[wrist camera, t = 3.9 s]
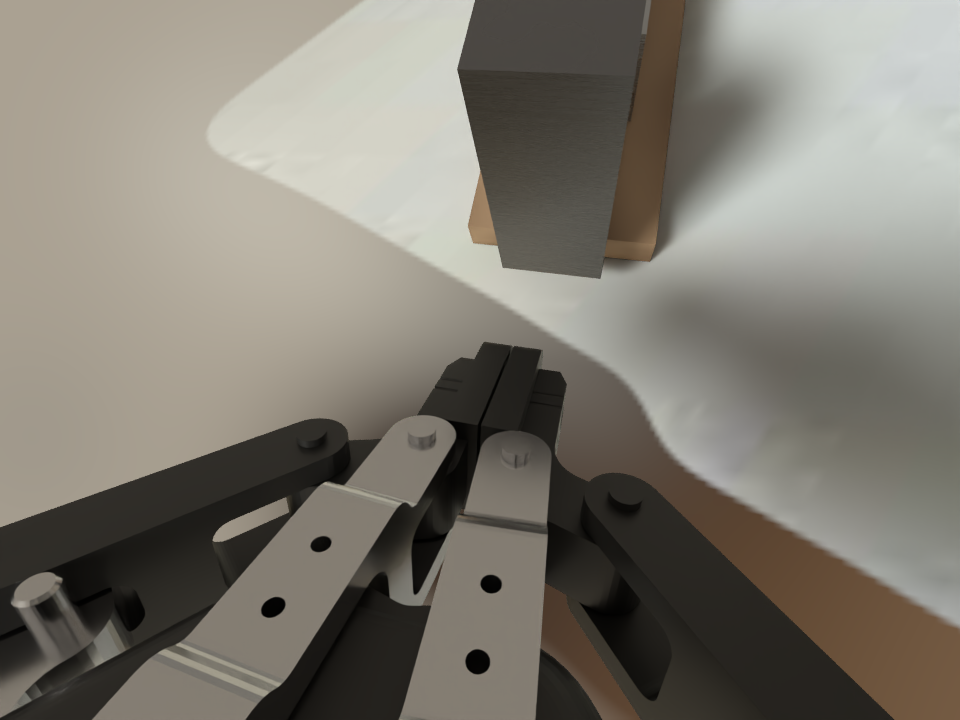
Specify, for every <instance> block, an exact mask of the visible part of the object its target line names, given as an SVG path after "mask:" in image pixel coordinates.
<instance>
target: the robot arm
mask: <svg viewBox="0 0 960 720" xmlns="http://www.w3.org/2000/svg"><path fill="white" fill-rule="evenodd" d="M542 358H543V350H539V349H532V348H524V347H518V346H514V347H512V346H510V345H503V344H496V343H489V342H484V343H483V344H482V346H481V348H480V350H479V352H478V354H477V355H476V357H475V359H468V358H460V359H458V360H456V361H455V362H453V363H451V364H450V365H448V366H447V368H446V369H445V371H444V372H443V374H442V376H441V378H440V380H439V381H438V382H437V384H436V385H435V389H433V390H432V392H431V393H430V395H429V397H428V398H427V400H426V402H425V403H424V405H423V406H422V408H421V410H420V411H419V413H418V415H417V416H412V417H408V418H405V419H403V420H401V421H399V422H397V423H396V424H394V425H393V426H392V427H391V429H390V430H389V431H388V432H387V433H386V435H385V436H384V437H383V438H382V439H374V440H353V441H349V439H348V432H347V429H346V428H345V427H344V426H343V425H342V424H341V423H339V422H337V421H334V420H330V419H309V420H304V421H301V422H298V423H295V424H292V425H290V426H287V427H284V428H281V429H278V430H275V431H272V432H270V433H267V434H264V435H261V436H258V437H255V438H253V439H250V440H247V441H244V442H241V443H238V444H236V445H233V446H230V447H227V448H224V449H221V450H219V451H216V452H213V453H210V454H208V455H204V456H201V457H199V458H196V459H193V460H190V461H187V462H184V463H182V464H179V465H176V466H173V467H170V468H167V469H165V470H162V471H159V472H156V473H153V474H150V475H148V476H145V477H142V478H139V479H137V480H134V481H131V482H128V483H125V484H122V485H119V486H116V487H114V488H111V489H108V490H105V491H102V492H99V493H97V494H94V495H91V496H88V497H85V498H82V499H79V500H77V501H74V502H71V503H68V504H65V505H63V506H60V507H57V508H54V509H51V510H48V511H45V512H43V513H40V514H37V515H34V516H31V517H28V518H26V519H23V520H20V521H17V522H14V523H11V524H9V525H6V526H3V527H0V720H602V719H601V717H600V715H599V713H598V712H597V710H596V708H595V706H594V705H593V703H592V701H591V700H590V698H589V696H588V695H587V694H586V692H585V691H584V689H583V688H582V687H581V685H580V684H579V683H578V681H577V680H576V679H575V678H574V677H573V676H572V675H571V674H570V672H569V671H568V670H567V669H566V668H565V667H564V666H562V665H561V664H560V663H559V662H558V661H557V660H556V659H555V658H553V657H552V656H550V655H549V654H548V653H546V652H545V651H543V650H542V649H541V648H540V643H541V627H542V613H543V598H544V583H546V584H548V585H550V586H552V587H553V588H555V589H557V590H559V591H561V592H562V593H564V594H566V595H567V604H568V606H569V609H570V611H571V613H572V614H573V616H574V617H575V619H576V621H577V622H578V623H579V625H580V627H581V628H582V630H583V631H584V633H585V634H586V636H587V637H588V639H589V640H590V642H591V644H592V645H593V646H594V648H595V650H596V651H597V653H598V654H599V656H600V657H601V659H602V661H603V662H604V664H605V665H606V667H607V668H608V670H609V671H610V673H611V674H612V676H613V677H614V679H615V680H616V682H617V684H618V685H619V687H620V688H621V690H622V691H623V693H624V694H625V696H626V697H627V699H628V700H629V702H630V704H631V705H632V707H633V708H634V709H635V711H636V713H637V714H638V716H639V717H640V719H641V720H894V719H893V718H892V717H891V716H890V715H889V714H888V713H887V712H886V711H885V710H884V709H883V708H882V707H881V706H880V705H879V704H877V703H876V702H875V701H874V700H873V699H872V698H871V697H870V696H869V695H868V694H867V693H866V692H865V691H864V690H863V689H862V688H861V687H860V686H859V685H858V684H857V683H856V682H855V681H854V680H853V679H852V678H851V677H850V676H848V675H847V674H846V673H845V672H844V671H843V670H842V669H841V668H840V667H839V666H838V665H837V664H836V663H835V662H834V661H833V660H832V659H831V658H830V657H829V656H828V655H826V653H825V652H823V650H821V649H820V648H819V647H818V646H817V645H816V644H815V643H814V642H813V641H812V640H811V639H810V638H809V637H808V636H807V635H806V634H805V633H804V632H803V631H802V630H801V629H800V628H799V627H798V626H797V625H795V623H793V622H792V621H791V620H790V619H789V618H788V617H787V616H786V615H785V614H784V613H783V612H782V611H781V610H780V609H779V608H778V607H777V606H776V605H775V604H774V603H772V601H771V600H770V599H768V598H767V596H765V595H764V594H763V593H762V592H761V591H760V590H759V589H758V588H757V587H756V586H755V585H754V584H753V583H752V582H751V581H750V580H749V579H748V578H747V577H746V576H745V575H744V574H743V573H742V572H741V571H740V570H738V569H737V568H736V567H735V566H734V565H733V564H732V563H731V562H730V561H729V560H728V559H727V558H726V557H725V556H724V555H722V553H721V552H720V551H719V550H718V549H717V548H716V547H715V546H714V545H712V544H711V542H709V541H708V540H707V539H706V538H705V537H704V536H703V535H702V534H701V533H700V532H699V531H698V530H697V529H696V528H695V527H694V526H693V525H692V524H691V523H690V522H689V521H688V520H687V519H686V518H685V517H683V516H682V515H681V514H680V513H679V512H678V511H677V510H676V509H675V508H674V507H673V506H672V505H671V504H670V503H669V502H668V501H667V500H666V499H665V498H664V497H663V496H662V495H661V494H660V493H658V491H657V490H656V489H654V488H653V487H652V486H651V485H649V484H648V483H646V482H645V481H643V480H641V479H639V478H636V477H634V476H631V475H627V474H621V473H608V474H602V475H599V476H597V477H595V478H593V479H592V480H591V481H590V482H588V481H585V480H583V479H581V478H579V477H577V476H575V475H573V474H572V473H570V472H569V471H567V470H566V469H565V468H564V467H563V466H562V465H561V464H560V463H559V461H558V460H557V457H556V453H557V447H558V442H559V436H560V430H561V422H562V414H563V408H564V400H565V392H566V385H567V384H566V382H565V380H564V378H563V376H562V374H561V373H560V372H557V371H549V370H543V369H541V368H542ZM285 497H286V498H287V503H288V508H289V513H287V514H285V515H282V516H280V517H278V518H276V519H274V520H271V521H269V522H267V523H265V524H262V525H260V526H258V527H256V528H254V529H251V530H249V531H247V532H245V533H242V534H240V535H238V536H235V537H233V538H231V539H229V540H226V541H223V542H213V541H212V540H213V536H214V535H215V533H216V531H217V530H218V529H219V528H220V527H221V526H222V525H224V524H225V523H227V522H229V521H231V520H233V519H235V518H238V517H240V516H242V515H245V514H247V513H250V512H252V511H254V510H257V509H259V508H261V507H263V506H265V505H268V504H270V503H273V502H275V501H277V500H280V499H282V498H285ZM461 509H465V511H464V514H460V511H461ZM444 558H445V559H444ZM443 560H444V562H443ZM442 562H443V566H442V570H441V573H440V577H439V581H438V584H437V588H436V591H435V595H434V598H433V602H432V606H422V604H423V602H424V600H425V598H426V596H427V594H428V591H429V589H430V587H431V585H432V583H433V581H434V579H435V577H436V574H437V572H438V570H439V568H440V566H441V564H442Z"/></svg>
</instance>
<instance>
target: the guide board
mask: <svg viewBox="0 0 960 720" xmlns="http://www.w3.org/2000/svg"><path fill="white" fill-rule="evenodd" d="M684 7H685V0H651V6H650V13H649V20H648V27H647V34H646V40H645V45H644V51H643V56H642V62H641V68H640V73H639V79H638V84H637V90H636V95H635V101H634V106H633V112H632V118H631V122H629V121H627V127H626V132H625V138H624V144H623V150H622V156H621V162H620V167H619V173H618V179H617V185H616V191H615V197H614V202H613V208H612V214H611V220H610V226H609V232H608V237H607V243H606V249H605V255H604V257H610V258H619V259H629V260H638V261H648V262H650V259H651V257H652V254H653V251H654V248H655V245H656V238H657V230H658V222H659V213H660V205H661V197H662V189H663V180H664V172H665V164H666V156H667V147H668V139H669V131H670V123H671V114H672V106H673V98H674V90H675V81H676V73H677V65H678V57H679V48H680V40H681V32H682V24H683V15H684ZM468 228H469V231H470V234H471V237H472V240H473V243H478V244H487V245H497V246H498V244H497V240H496V235H495V231H494V227H493V222H492V218H491V214H490V209H489V205H488V201H487V196H486V192H485V188H484V183H483V179H482V175H481V171H480V175H479V180H478V184H477V188H476V193H475V197H474V201H473V206H472V210H471V214H470V219H469V223H468Z"/></svg>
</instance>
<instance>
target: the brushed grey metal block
mask: <svg viewBox="0 0 960 720" xmlns="http://www.w3.org/2000/svg"><path fill="white" fill-rule="evenodd" d="M645 6H646V0H475V3H474V7H473V11H472V15H471V18H470V22H469V26H468V30H467V34H466V38H465V42H464V45H463V49H462V53H461V57H460V61H459V65H458V69H457V70H458V74H459V79H460V83H461V87H462V92H463V96H464V100H465V105H466V109H467V114H468V118H469V122H470V127H471V131H472V135H473V140H474V144H475V148H476V153H477V157H478V161H479V166H480V170H481V175H482V179H483V183H484V188H485V192H486V196H487V201H488V205H489V209H490V214H491V218H492V222H493V227H494V231H495V235H496V240H497V244H498V249H499V253H500V257H501V262H502V266H503V268H511V269H520V270H529V271H537V272H546V273H555V274H564V275H572V276H581V277H590V278H598V279H600V278H601V272H602V267H603V261H604V255H605V249H606V243H607V237H608V232H609V226H610V220H611V214H612V208H613V202H614V197H615V191H616V185H617V179H618V173H619V167H620V162H621V156H622V150H623V144H624V138H625V132H626V127H627V121H628V115H629V109H630V103H631V97H632V92H633V86H634V80H635V74H636V67H637V60H638V53H639V47H640V40H641V33H642V26H643V19H644V13H645Z"/></svg>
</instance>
